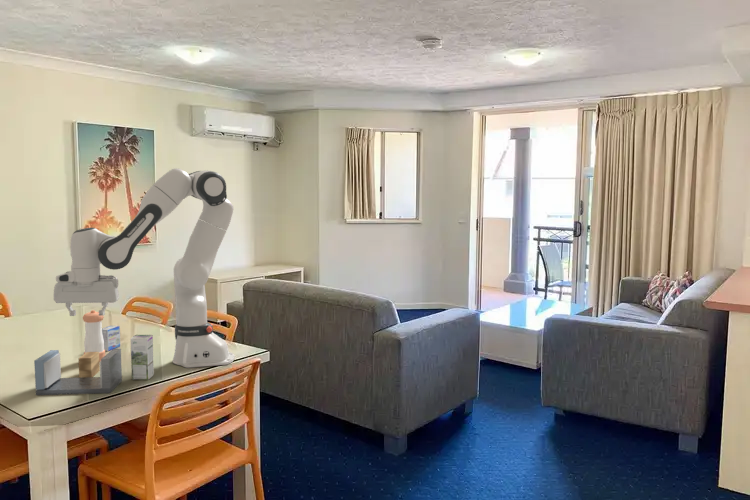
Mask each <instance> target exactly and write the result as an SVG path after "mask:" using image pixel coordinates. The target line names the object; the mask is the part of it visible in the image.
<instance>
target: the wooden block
mask: <svg viewBox="0 0 750 500" xmlns="http://www.w3.org/2000/svg"><path fill="white" fill-rule="evenodd" d="M98 373H100V362H99V352H86V353H85V354H84V353H83V354H82V355H81V356H80V357H79V358H78V378H83V377H96V375H97V374H98Z"/></svg>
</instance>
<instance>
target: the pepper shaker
mask: <svg viewBox="0 0 750 500" xmlns="http://www.w3.org/2000/svg"><path fill="white" fill-rule="evenodd" d="M104 318H105V315H104V316H99V311H96V310H95V309H92V310H90V312H89V311H87V312H86V313H85V314H83V316H82V321H83V322H84V323H85V325H84V326H85V333H84V334H85V335H84V352H83V355H84V354H85V353H86V352H99V363H100V361H101V359H102V358H103V357H104V356H105V355H106V351H105V350H104V340H103V335H102V327H103V325H102V321H103V320H104Z"/></svg>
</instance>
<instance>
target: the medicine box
mask: <svg viewBox="0 0 750 500" xmlns="http://www.w3.org/2000/svg"><path fill="white" fill-rule="evenodd" d="M120 329H121V328H120V325H109V326H106V327H103V328H102V335H103V340H104V350H105V352H110V351H111V350H113V349H118V348H119V347H121V330H120Z"/></svg>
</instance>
